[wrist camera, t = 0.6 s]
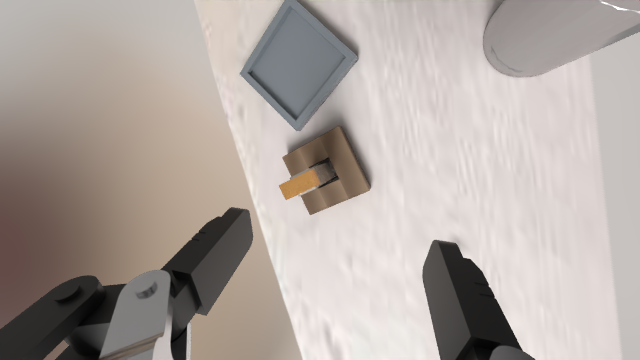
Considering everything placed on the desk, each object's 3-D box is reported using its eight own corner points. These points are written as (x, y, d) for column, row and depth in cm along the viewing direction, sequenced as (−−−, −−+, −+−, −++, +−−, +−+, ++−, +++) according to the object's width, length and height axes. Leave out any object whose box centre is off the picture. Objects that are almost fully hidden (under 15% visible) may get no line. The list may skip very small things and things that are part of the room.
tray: (293, -1, 32) (289, -7, 31) (358, 59, 31) (356, 55, 29) (245, 76, 37) (239, 73, 35) (300, 131, 35) (296, 130, 34)
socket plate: (341, 126, 33) (338, 126, 31) (370, 187, 33) (369, 190, 31) (287, 156, 37) (282, 157, 35) (314, 211, 37) (310, 215, 35)
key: (335, 158, 34) (307, 168, 23) (341, 173, 34) (317, 188, 23) (313, 169, 36) (277, 183, 25) (319, 183, 36) (287, 202, 25)
